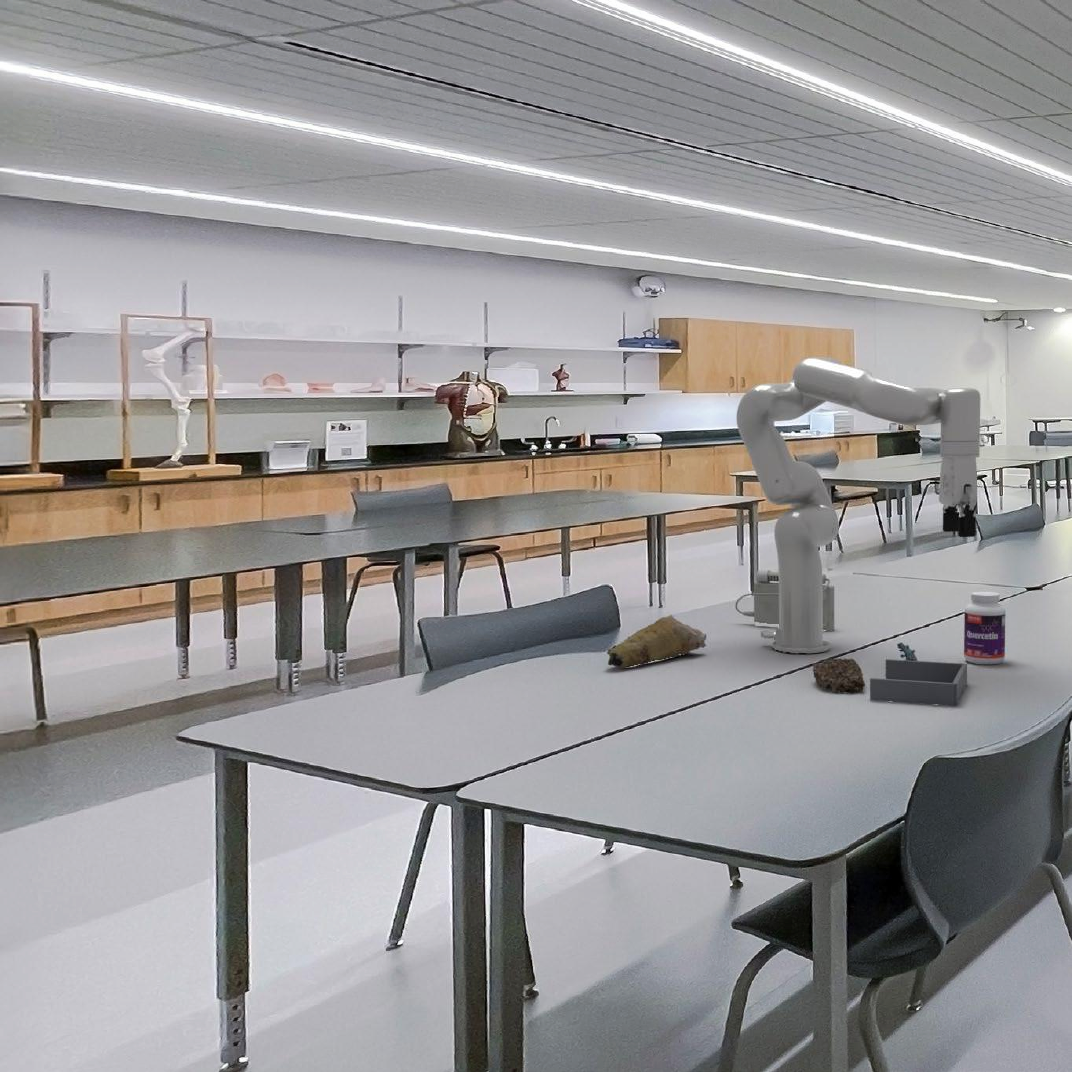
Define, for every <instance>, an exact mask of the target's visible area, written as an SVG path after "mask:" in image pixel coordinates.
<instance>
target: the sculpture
mask: <svg viewBox="0 0 1072 1072" xmlns="http://www.w3.org/2000/svg"><path fill="white" fill-rule="evenodd" d="M896 645H897V649H899V652H902V653H903V654H902V653H901V654H900V658H901V659H904V658H905V659H904V660H910V661H919V660H918V658H917V656H916V655H915V653H916V650H915V649H910V646H909V645H908V644H904V643H903V642H898V643H897V644H896Z"/></svg>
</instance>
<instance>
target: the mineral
mask: <svg viewBox="0 0 1072 1072" xmlns="http://www.w3.org/2000/svg"><path fill="white" fill-rule="evenodd" d="M706 640H707V633H703V632H702V631H701V630H700V629H698V628H693V627H691V626H690V625H688V624H685V623H682V622H681V621H680V620H678V619H676V618H675V617H674V615H672V614H670V615H668V616H663V617H661V618H659V619H658V620H656V621H655V622H654V623H650V624H649V625H647V626H646V627H644V628H641V629H639V630H637V631H636V632H635V633H633V634H632V635H630V636H628V637H627V639H624V640H623V641H621V642H620V643H619V644H617V645H613V646H612V648H610V649H608V650H607V653H606V654H607V655H608V656H609V658H608V663H607V665H608V666H614V667H616V668H619V667H622V668H623V667H630V666H634V665H638V664H643V665H645V664H644V663H648V662H651V661H655V660H662V659H666V658H670V657H674V656H676V657H679V656H678V655H679V654H681V655H683V654H684V655H686V654H688V653H689V652H691V651H694V650H699V649H700V648H703V649H704V648H705V647H707V644H706V642H705V641H706ZM674 658H675V657H674Z"/></svg>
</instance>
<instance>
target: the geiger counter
mask: <svg viewBox="0 0 1072 1072" xmlns="http://www.w3.org/2000/svg"><path fill="white" fill-rule="evenodd" d="M756 580H757V581H756V582H754V583H753V593H751V592H750V593H746V594H743V595H742V596H739V598H738V599H737V600H736V602H735V607H734V608H735V610H736V611H737V612H738V613H739V614H742V615H743V616H744V617H745V616H746V617H751V618H752V617H753V620H754V621H753V623H754V622H759V623H767V624H779V571H771V570H768V569H767V570H766V569H759V570H757V573H756ZM826 582H827V583H826ZM830 583H831V580H830V579H829V578H827V575H826V574H823V573H822V588H823V630H826V631H831V632H833V631H832V630H834V631H835V585H830ZM825 584H826V585H825ZM748 596H753V610H754V611H749V610H748V611H743V612H742V610H740V609H739V608H738V604H739V602H740V601H741V600H742V599H743V598H745V597H748Z"/></svg>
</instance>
